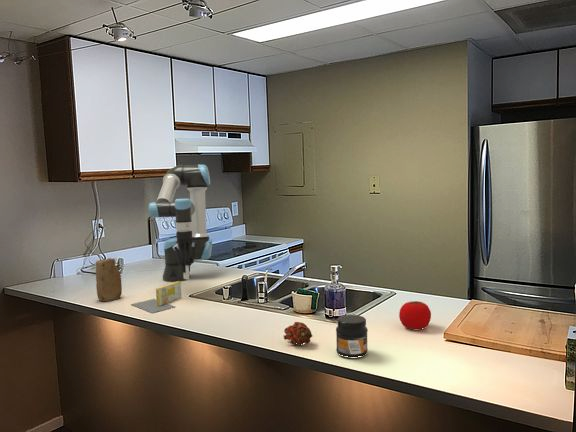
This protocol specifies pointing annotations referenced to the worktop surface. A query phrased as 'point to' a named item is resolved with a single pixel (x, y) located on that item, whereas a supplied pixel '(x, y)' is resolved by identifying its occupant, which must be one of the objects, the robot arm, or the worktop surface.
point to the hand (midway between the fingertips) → (186, 278)
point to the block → (108, 280)
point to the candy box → (168, 293)
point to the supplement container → (351, 336)
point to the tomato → (415, 315)
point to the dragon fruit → (298, 333)
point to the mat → (152, 306)
